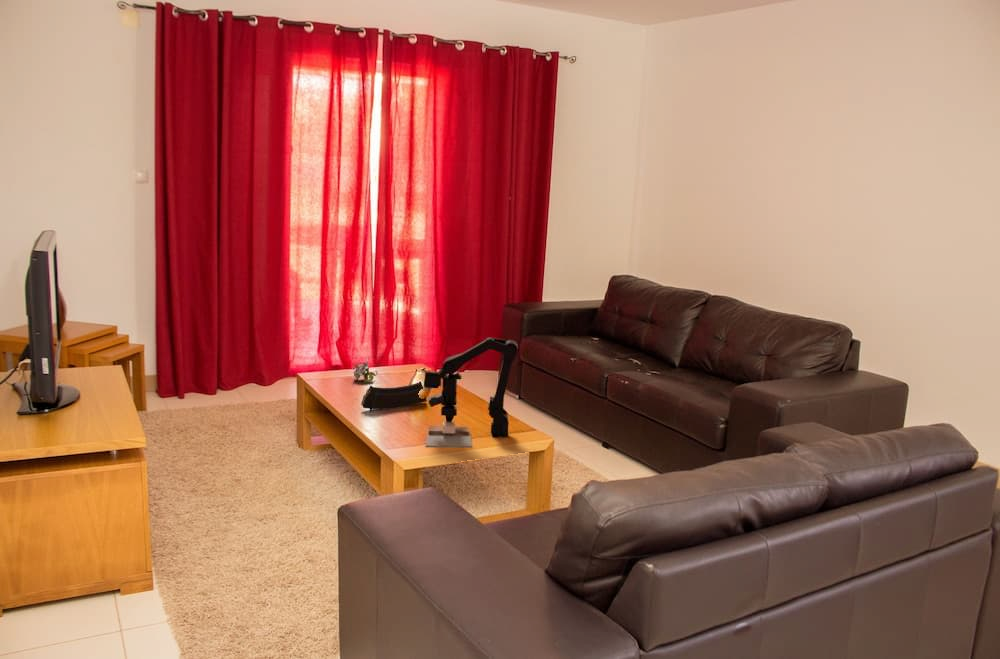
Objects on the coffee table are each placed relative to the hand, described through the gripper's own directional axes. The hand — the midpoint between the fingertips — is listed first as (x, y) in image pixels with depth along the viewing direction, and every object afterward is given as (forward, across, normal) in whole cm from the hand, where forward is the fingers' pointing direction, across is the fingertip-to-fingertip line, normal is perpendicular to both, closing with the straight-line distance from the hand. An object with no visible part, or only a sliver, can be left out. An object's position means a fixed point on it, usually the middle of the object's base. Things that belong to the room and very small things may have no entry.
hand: (448, 425), depth 334 cm
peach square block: (+1, +4, 0) cm, 4 cm away
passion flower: (+4, -76, -42) cm, 87 cm away
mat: (+3, +10, 0) cm, 11 cm away
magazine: (+4, -33, -24) cm, 41 cm away
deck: (+3, +1, 0) cm, 3 cm away
